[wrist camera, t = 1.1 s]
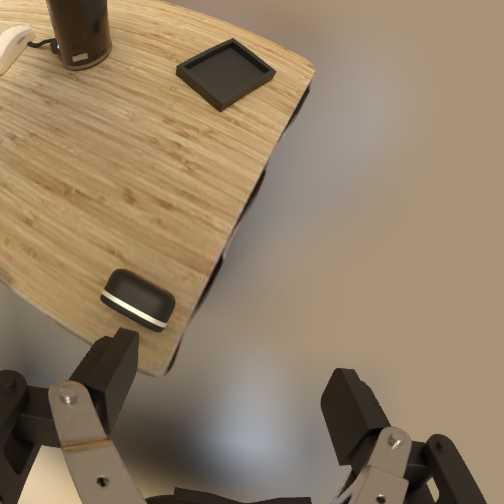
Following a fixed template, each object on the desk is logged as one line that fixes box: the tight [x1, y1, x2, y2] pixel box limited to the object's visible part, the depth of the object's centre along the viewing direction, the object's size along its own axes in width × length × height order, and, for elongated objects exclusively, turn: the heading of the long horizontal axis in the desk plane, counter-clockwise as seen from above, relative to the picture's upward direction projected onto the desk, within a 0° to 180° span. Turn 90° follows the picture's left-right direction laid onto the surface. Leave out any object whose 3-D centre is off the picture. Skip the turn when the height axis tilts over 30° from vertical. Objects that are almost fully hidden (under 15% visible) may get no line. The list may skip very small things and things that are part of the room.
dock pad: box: [176, 38, 276, 112], centre depth 41 cm, size 11×13×2 cm
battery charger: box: [100, 269, 175, 332], centre depth 29 cm, size 7×4×11 cm, turn 64°
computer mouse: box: [0, 25, 35, 75], centre depth 29 cm, size 6×13×6 cm, turn 164°
